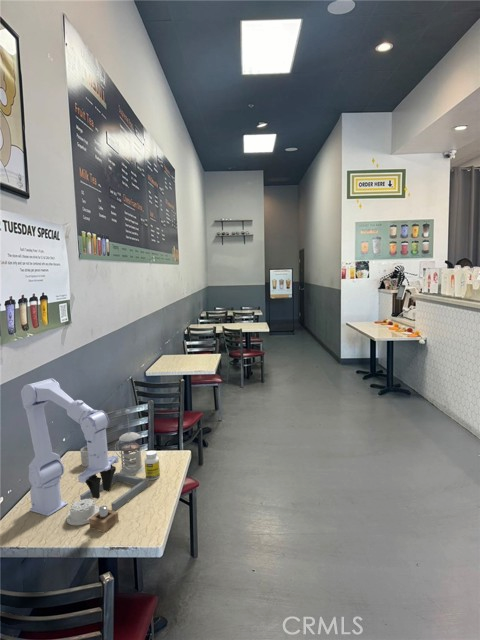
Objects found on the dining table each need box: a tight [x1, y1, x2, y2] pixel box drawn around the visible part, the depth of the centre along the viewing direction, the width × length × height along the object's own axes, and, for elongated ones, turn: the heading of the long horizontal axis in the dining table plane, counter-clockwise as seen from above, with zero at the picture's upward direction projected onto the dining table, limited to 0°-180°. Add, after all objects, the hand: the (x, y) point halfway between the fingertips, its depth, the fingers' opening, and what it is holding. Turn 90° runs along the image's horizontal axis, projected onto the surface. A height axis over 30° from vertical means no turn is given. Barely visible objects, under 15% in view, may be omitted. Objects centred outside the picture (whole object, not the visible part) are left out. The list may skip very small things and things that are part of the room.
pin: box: [99, 505, 109, 520], centre depth 123 cm, size 2×2×6 cm
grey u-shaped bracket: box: [79, 472, 149, 511], centre depth 142 cm, size 15×17×2 cm
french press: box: [114, 409, 145, 476], centre depth 160 cm, size 10×12×25 cm
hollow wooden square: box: [89, 508, 119, 533], centre depth 124 cm, size 6×6×3 cm
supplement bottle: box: [144, 450, 161, 481], centre depth 153 cm, size 5×5×10 cm
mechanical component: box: [66, 498, 100, 526], centre depth 129 cm, size 10×4×10 cm
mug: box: [79, 445, 89, 468], centre depth 170 cm, size 10×7×7 cm, turn 167°
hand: (101, 494), depth 123 cm, fingers open, 4 cm apart
